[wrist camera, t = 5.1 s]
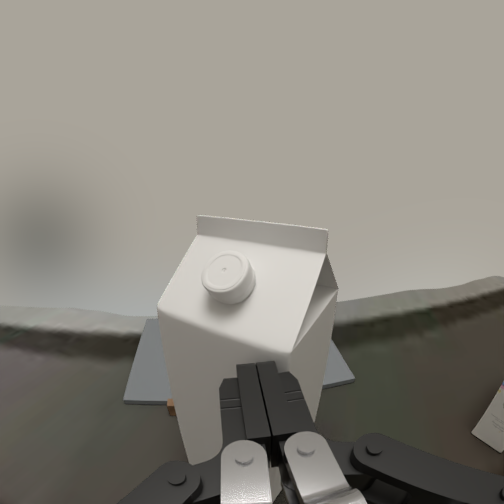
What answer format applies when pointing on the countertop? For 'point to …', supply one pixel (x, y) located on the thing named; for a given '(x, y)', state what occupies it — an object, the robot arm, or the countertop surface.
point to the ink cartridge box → (493, 423)
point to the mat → (156, 377)
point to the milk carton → (244, 319)
